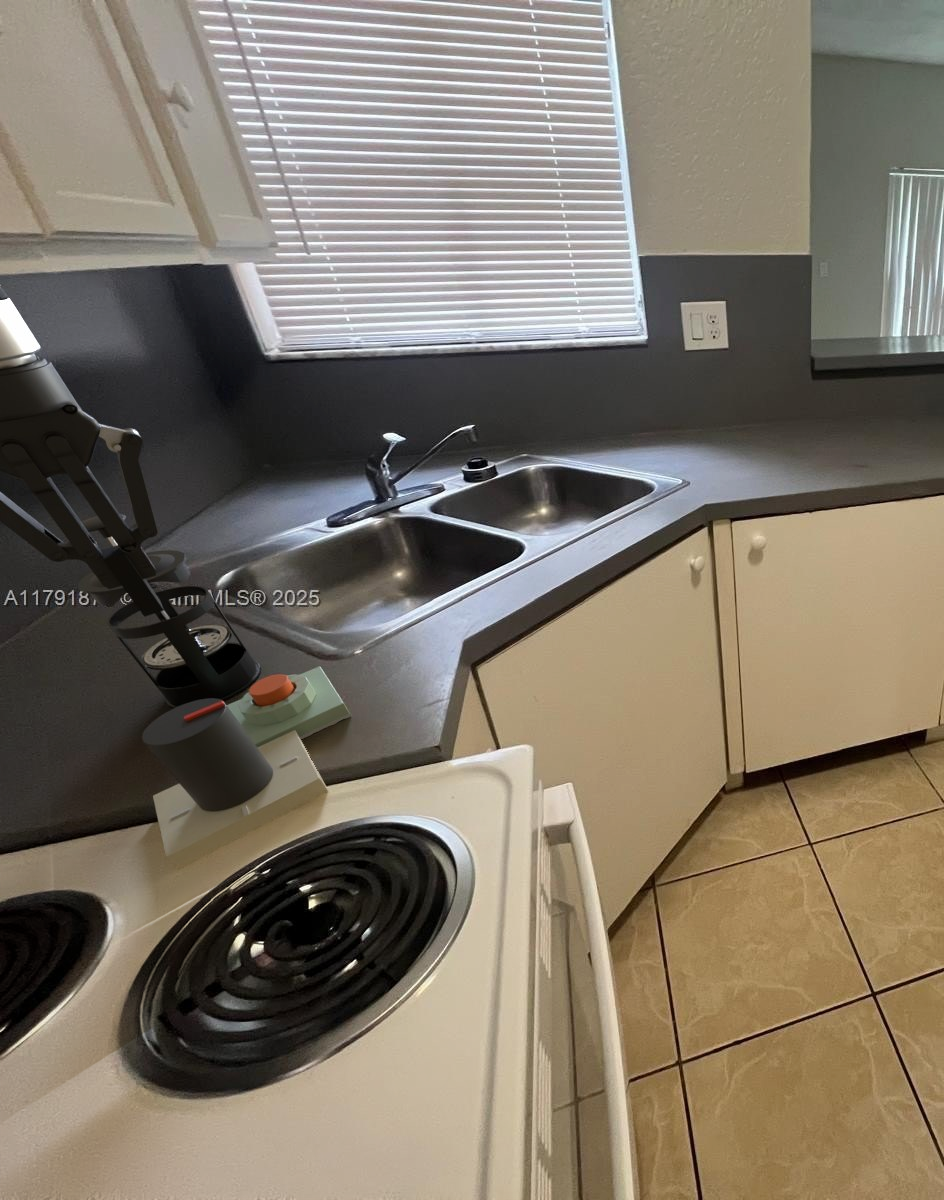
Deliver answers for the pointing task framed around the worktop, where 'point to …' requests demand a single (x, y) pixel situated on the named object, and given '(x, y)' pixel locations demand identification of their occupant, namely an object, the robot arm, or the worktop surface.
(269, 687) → the button
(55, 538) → the robot arm
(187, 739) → the oven knob
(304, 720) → the button box
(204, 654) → the french press
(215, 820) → the panel
